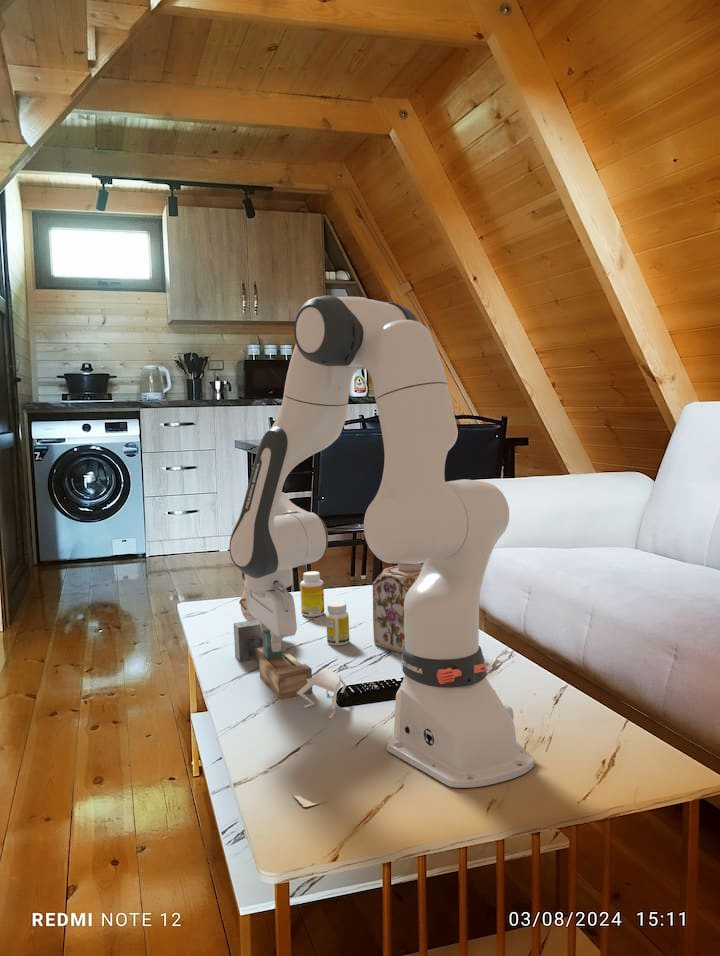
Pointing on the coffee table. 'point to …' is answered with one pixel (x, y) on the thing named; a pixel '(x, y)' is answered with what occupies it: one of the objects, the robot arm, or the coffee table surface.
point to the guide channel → (285, 677)
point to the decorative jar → (392, 604)
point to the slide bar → (271, 652)
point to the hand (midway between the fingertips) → (272, 647)
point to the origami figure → (324, 686)
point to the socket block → (247, 639)
